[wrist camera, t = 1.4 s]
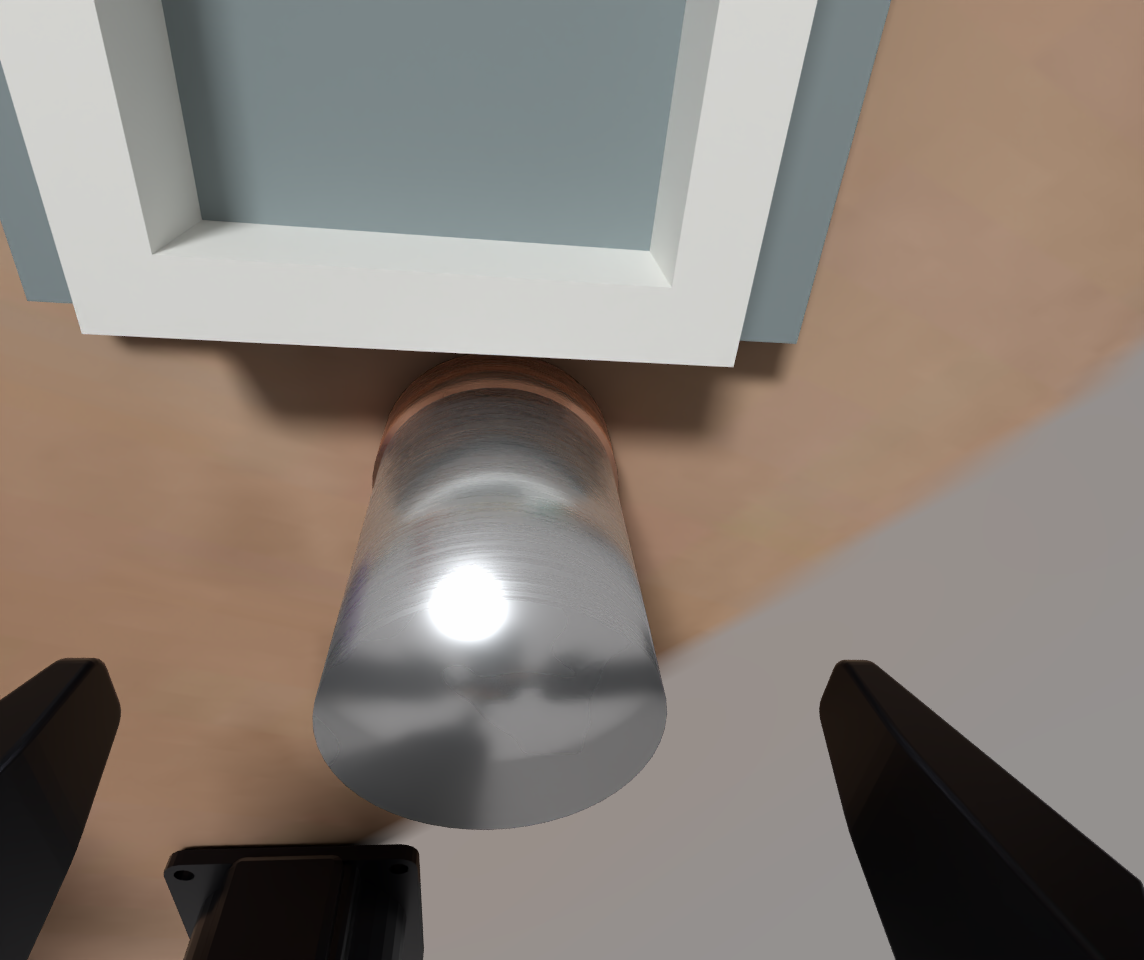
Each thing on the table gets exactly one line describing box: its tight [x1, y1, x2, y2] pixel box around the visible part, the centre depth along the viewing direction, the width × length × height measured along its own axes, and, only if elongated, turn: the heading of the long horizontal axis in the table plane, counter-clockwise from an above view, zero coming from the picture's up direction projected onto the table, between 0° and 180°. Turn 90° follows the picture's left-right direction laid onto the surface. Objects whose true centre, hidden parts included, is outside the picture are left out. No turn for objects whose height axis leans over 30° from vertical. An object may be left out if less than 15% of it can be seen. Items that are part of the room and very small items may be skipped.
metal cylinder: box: [313, 354, 667, 830], centre depth 11 cm, size 4×4×6 cm
